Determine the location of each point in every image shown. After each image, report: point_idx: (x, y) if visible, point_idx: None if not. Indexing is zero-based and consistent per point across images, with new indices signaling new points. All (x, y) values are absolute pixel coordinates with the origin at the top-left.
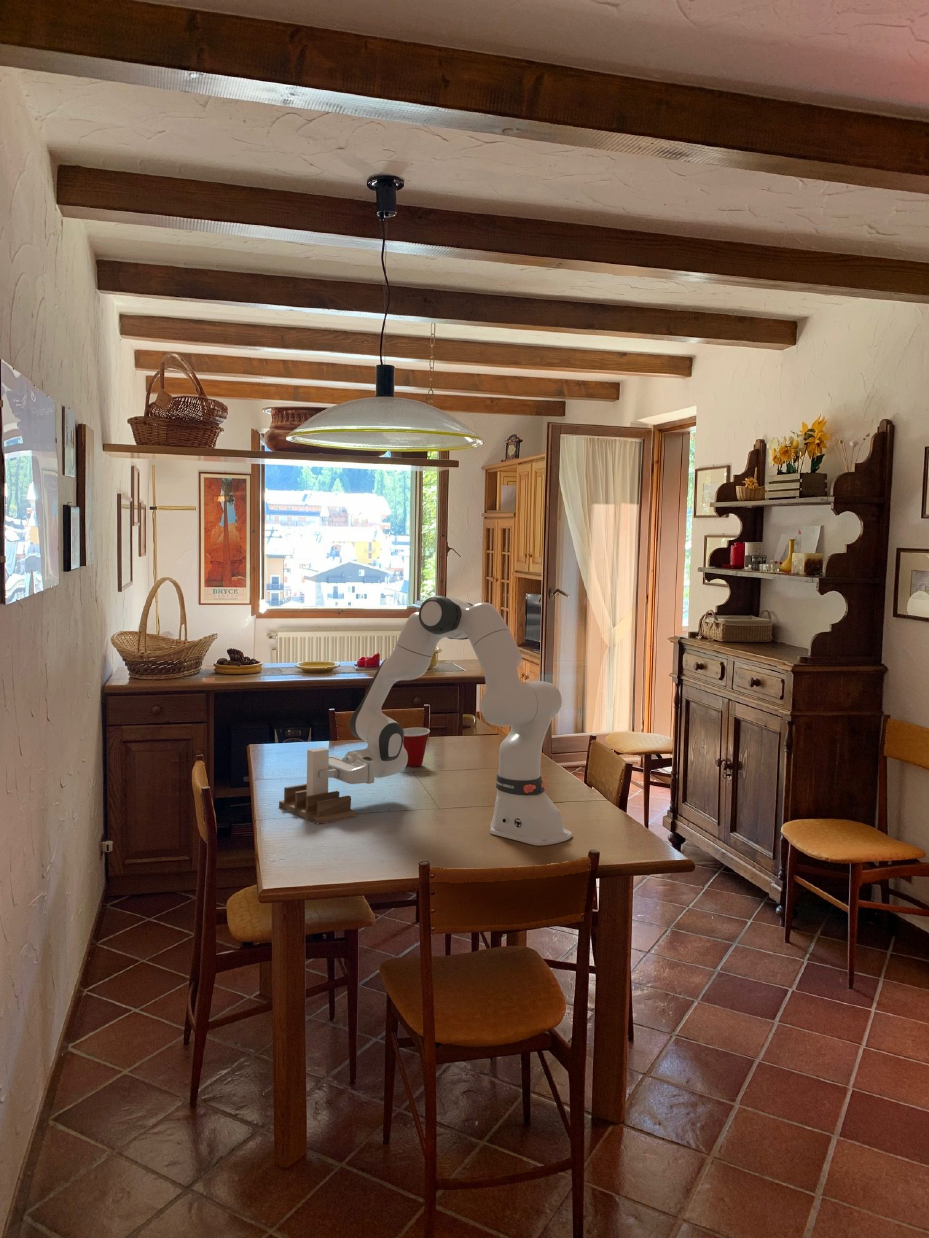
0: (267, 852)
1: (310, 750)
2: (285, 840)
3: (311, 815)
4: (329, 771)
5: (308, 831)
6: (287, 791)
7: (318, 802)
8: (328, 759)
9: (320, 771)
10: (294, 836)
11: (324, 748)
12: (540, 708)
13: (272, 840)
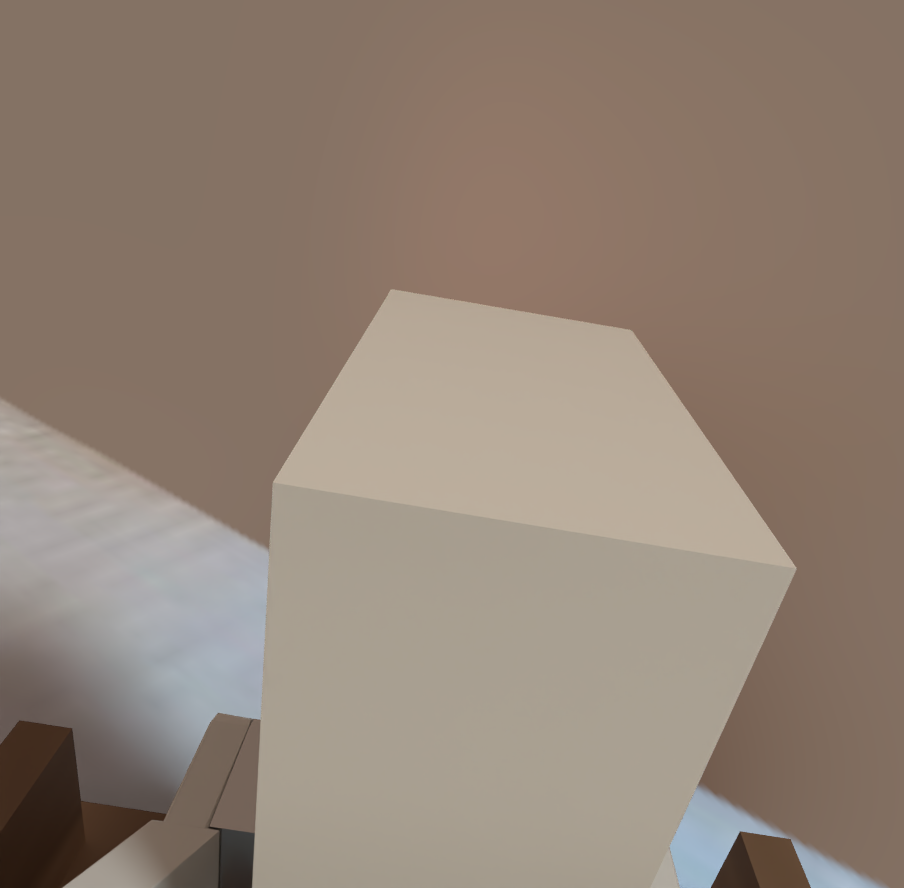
0: (57, 436)
1: (538, 322)
2: (70, 527)
3: (149, 817)
4: (84, 878)
5: (15, 672)
6: (730, 869)
7: (42, 728)
8: (261, 812)
9: (258, 723)
10: (58, 578)
11: (576, 513)
12: None
13: (137, 505)
